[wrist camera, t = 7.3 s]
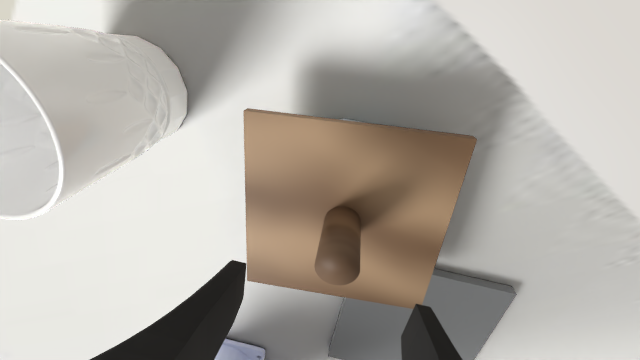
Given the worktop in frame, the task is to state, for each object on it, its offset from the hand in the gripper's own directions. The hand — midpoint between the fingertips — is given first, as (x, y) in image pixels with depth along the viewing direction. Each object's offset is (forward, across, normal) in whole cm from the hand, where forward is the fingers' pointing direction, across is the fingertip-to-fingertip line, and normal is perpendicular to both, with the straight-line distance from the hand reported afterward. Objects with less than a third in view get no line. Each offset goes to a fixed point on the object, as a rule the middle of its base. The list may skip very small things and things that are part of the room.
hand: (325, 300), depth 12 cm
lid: (+7, 0, 0) cm, 7 cm away
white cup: (+10, +15, -4) cm, 18 cm away
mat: (+10, -8, +11) cm, 17 cm away
